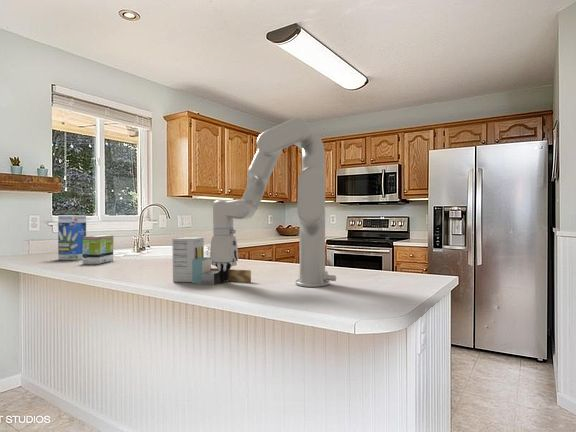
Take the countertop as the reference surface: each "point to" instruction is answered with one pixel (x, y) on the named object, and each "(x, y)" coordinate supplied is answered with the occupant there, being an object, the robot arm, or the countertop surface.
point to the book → (200, 268)
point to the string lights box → (71, 237)
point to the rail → (237, 275)
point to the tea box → (97, 249)
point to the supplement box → (186, 256)
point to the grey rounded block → (210, 277)
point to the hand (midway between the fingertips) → (224, 280)
